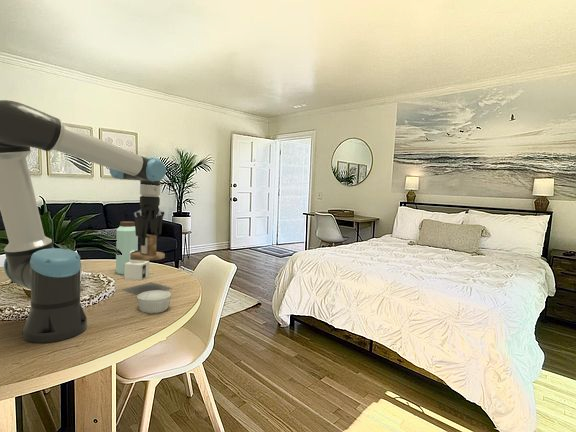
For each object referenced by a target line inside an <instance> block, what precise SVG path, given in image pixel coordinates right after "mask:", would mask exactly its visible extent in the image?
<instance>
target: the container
mask: <svg viewBox="0 0 576 432" xmlns="http://www.w3.org/2000/svg"><path fill="white" fill-rule="evenodd" d="M136 252H140V249H138V250H134V251H131V252H130V258H129V261H130V262H127V263H125V275H124V280H131V281H132V280H134V281H142V280H144V279H146V278H148V277H149V276H150V261H142V260H134V259H131V254H132V253H136Z"/></svg>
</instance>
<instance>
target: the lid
mask: <svg viewBox="0 0 576 432" xmlns="http://www.w3.org/2000/svg"><path fill="white" fill-rule="evenodd" d="M146 238H148V244H147V254H143V253H141V245H140V244H139V245H140V249H139V250H140V252H136V253H132V254H131V259H134V260H142V261H149V262H150V261H157V260H162V259H165V258H166V254H165V252H163V251H157V243H158V242H157V241H158V237H157V236H156V235H151V233H150V234H149V233H147V234H146Z"/></svg>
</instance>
